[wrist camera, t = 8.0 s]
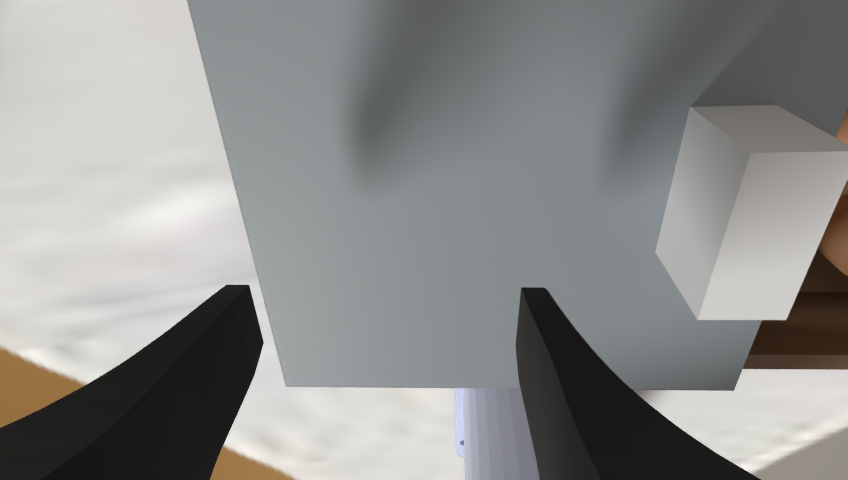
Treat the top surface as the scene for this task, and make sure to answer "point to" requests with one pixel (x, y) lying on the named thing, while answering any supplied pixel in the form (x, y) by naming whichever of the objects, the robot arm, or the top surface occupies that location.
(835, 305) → the walnut box
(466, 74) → the lid
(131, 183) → the top surface
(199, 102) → the top surface
